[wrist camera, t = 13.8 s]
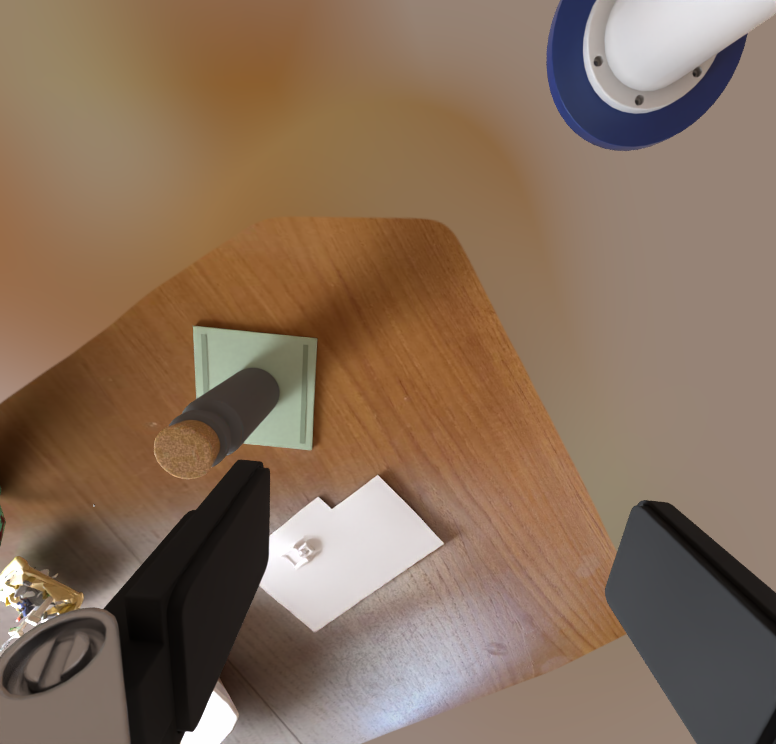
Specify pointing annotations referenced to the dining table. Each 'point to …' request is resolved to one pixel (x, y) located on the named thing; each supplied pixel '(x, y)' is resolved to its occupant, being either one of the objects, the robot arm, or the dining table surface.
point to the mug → (1, 522)
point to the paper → (343, 552)
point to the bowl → (214, 719)
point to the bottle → (216, 423)
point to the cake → (35, 595)
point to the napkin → (279, 358)
